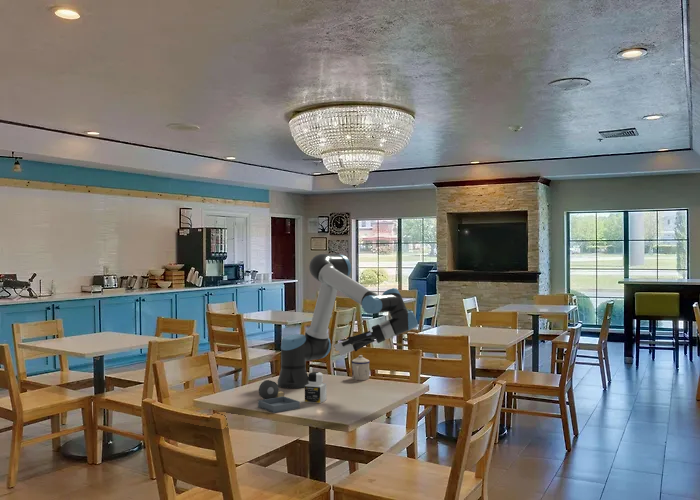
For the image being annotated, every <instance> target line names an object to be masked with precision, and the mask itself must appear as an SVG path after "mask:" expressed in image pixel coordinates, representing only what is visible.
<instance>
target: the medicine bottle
mask: <svg viewBox="0 0 700 500" xmlns="http://www.w3.org/2000/svg"><path fill="white" fill-rule="evenodd" d="M323 376H324V375H323V373H322V372H319V371H312V372H310V373H308V382H309V384H307V385H305V387H304V403H310V404H321V403H324V402H325V401H327V383H326V382H324V377H323Z"/></svg>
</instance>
